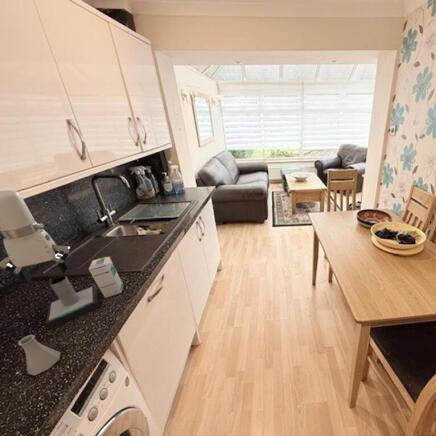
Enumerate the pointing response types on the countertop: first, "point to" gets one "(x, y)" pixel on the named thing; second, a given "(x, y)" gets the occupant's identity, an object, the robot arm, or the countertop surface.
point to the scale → (72, 307)
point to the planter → (64, 290)
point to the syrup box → (106, 276)
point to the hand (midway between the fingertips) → (47, 275)
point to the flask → (38, 355)
